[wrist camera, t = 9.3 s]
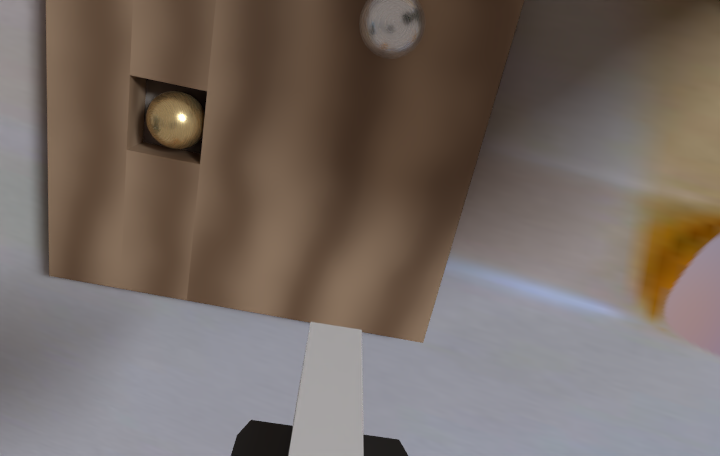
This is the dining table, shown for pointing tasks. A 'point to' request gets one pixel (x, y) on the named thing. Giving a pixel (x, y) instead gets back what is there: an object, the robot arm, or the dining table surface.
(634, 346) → the dining table surface
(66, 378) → the dining table surface
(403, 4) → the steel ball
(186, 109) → the brass ball
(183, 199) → the hole plate
